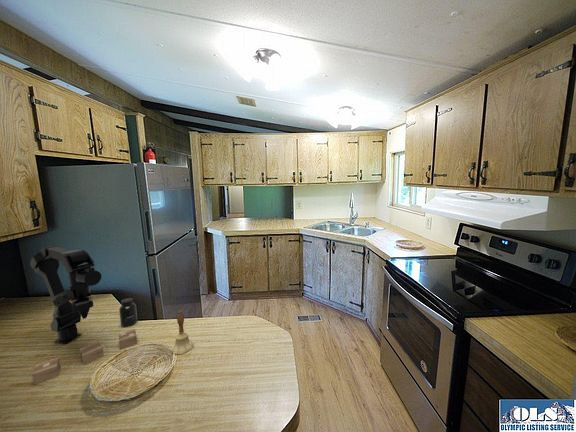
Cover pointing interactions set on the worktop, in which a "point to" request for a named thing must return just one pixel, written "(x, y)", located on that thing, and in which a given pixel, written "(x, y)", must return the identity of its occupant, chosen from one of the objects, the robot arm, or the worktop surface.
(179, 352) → the hand bell
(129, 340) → the two-pip walnut block
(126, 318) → the supplement bottle
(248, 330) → the worktop surface
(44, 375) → the one-pip walnut block
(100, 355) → the plain walnut block
